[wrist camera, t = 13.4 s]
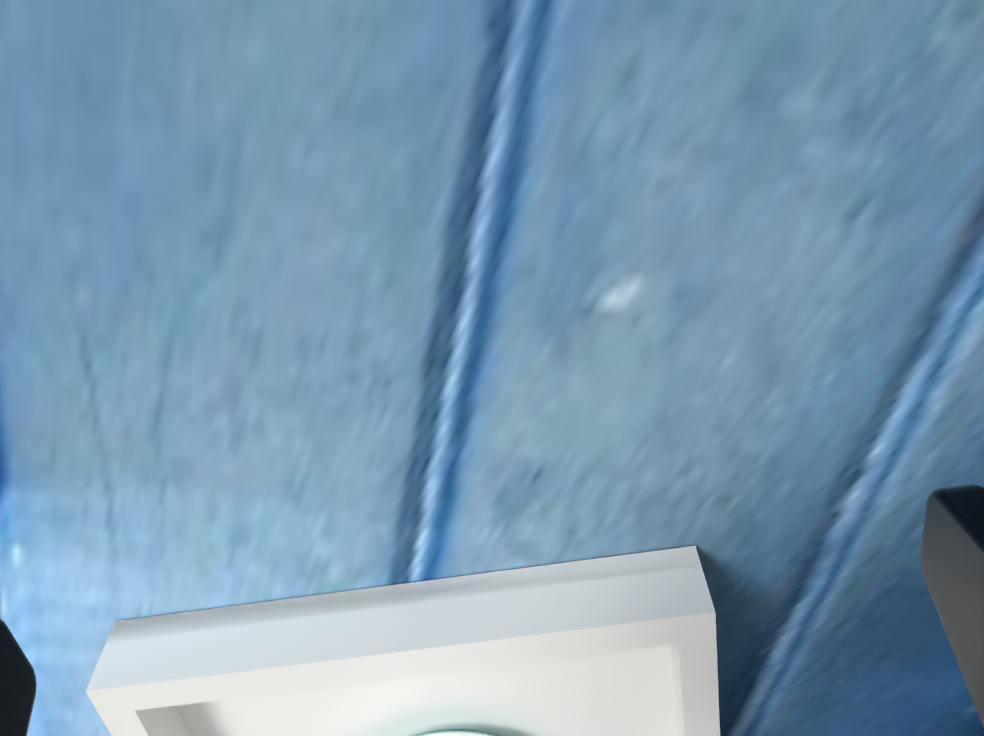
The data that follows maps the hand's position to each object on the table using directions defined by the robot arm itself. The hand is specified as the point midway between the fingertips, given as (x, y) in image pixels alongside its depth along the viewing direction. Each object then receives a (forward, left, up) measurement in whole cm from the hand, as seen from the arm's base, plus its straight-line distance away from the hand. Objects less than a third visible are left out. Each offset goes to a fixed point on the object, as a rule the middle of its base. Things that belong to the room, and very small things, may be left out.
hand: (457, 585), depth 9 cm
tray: (+4, +21, -13) cm, 25 cm away
